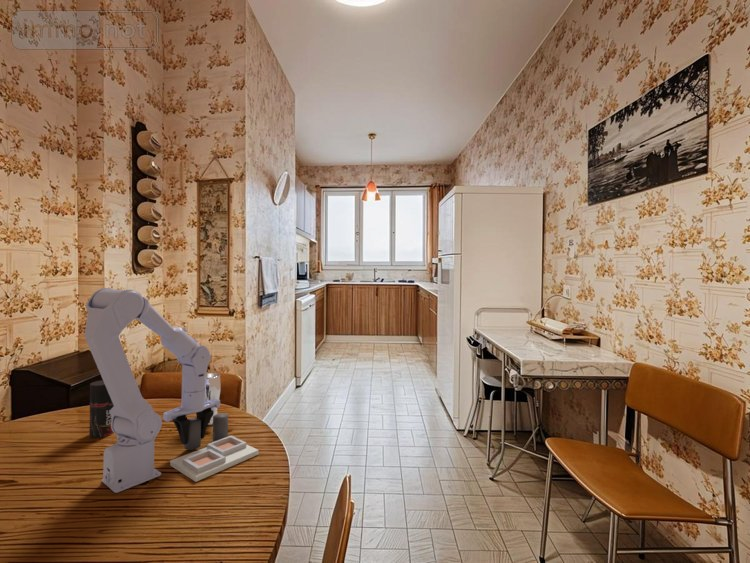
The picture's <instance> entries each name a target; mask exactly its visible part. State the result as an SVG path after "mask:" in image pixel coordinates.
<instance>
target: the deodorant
mask: <svg viewBox="0 0 750 563" xmlns="http://www.w3.org/2000/svg"><path fill="white" fill-rule="evenodd" d="M113 407H114V405H113V402H112V400H111V398H110V395H109V393H108V391H107V388H106V386H105V384H104V381H103V379H102V380H101V379H100V380H96V381H92V382H91V383H89V426H88V427H89V429H88V431H89V436H88V437H89V438H91V439H101V438H106V437H109V436H111V435H113V434H115V433H114V432H113V431H112V429H111V420H112V418H111V414H110V410H111V409H112V408H113Z"/></svg>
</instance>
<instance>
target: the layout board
mask: <svg viewBox="0 0 750 563" xmlns="http://www.w3.org/2000/svg"><path fill="white" fill-rule="evenodd" d="M258 455H260V454H259V449H257V448H255V447H253V446H252V445H248V444H247V442H246V441H244V440H242V439H241V438H238V437H236V436H234V435H228V437H225V438H223V439H220V440H217V441H214V442H213V441H211V442H209V443H207V444H206V446H205V447H203V448H201V449H198V450H195V451H192V452H190V453H187V454H184V455H181V456H179V457H175V458H173V459H170V460H169V463H170V464H169V465H170V467H172V468H174V469H175V470H176V471H179V473H181V474H183V475H184V476H186V477H187V478H189V479H191V481H193V482H195V483H197V482H199V481H201V480H204V479H206V478H208V477H211V476H212V475H215V474H217V473H219V472H222V471H225V470H227V469H229V468H231V467H234V466H235V465H237V464H240V463H242V462H243V463H244V462H245V461H247V460H248V459H251V458H253V457H255V456H256V457H257V456H258Z"/></svg>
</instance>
